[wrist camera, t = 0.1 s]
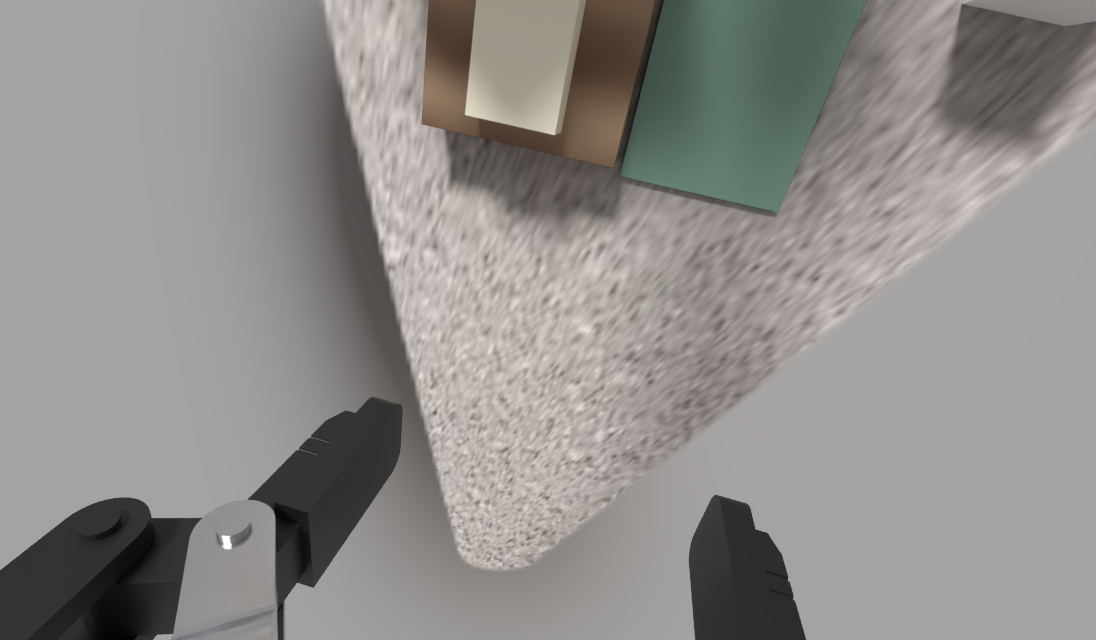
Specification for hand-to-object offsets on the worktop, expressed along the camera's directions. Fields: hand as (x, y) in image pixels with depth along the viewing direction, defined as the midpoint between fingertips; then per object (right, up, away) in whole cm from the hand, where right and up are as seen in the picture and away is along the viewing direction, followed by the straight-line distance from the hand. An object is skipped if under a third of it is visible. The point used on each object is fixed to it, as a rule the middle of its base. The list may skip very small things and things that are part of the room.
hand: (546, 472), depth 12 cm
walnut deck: (0, +23, +22) cm, 32 cm away
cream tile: (-1, +21, +19) cm, 28 cm away
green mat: (+13, +20, +21) cm, 31 cm away
